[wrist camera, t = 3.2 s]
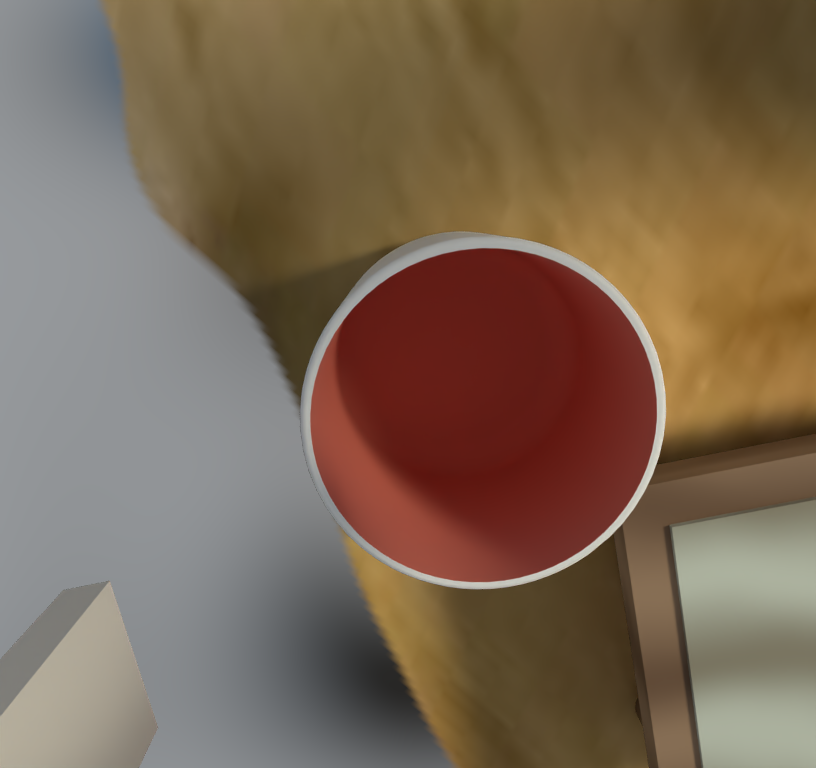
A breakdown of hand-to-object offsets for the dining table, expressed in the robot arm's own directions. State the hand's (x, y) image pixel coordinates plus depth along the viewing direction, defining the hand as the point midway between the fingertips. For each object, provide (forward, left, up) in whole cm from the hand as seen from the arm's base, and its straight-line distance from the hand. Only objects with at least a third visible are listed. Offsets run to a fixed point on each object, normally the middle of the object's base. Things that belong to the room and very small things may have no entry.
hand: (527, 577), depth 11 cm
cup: (0, 0, -18) cm, 18 cm away
